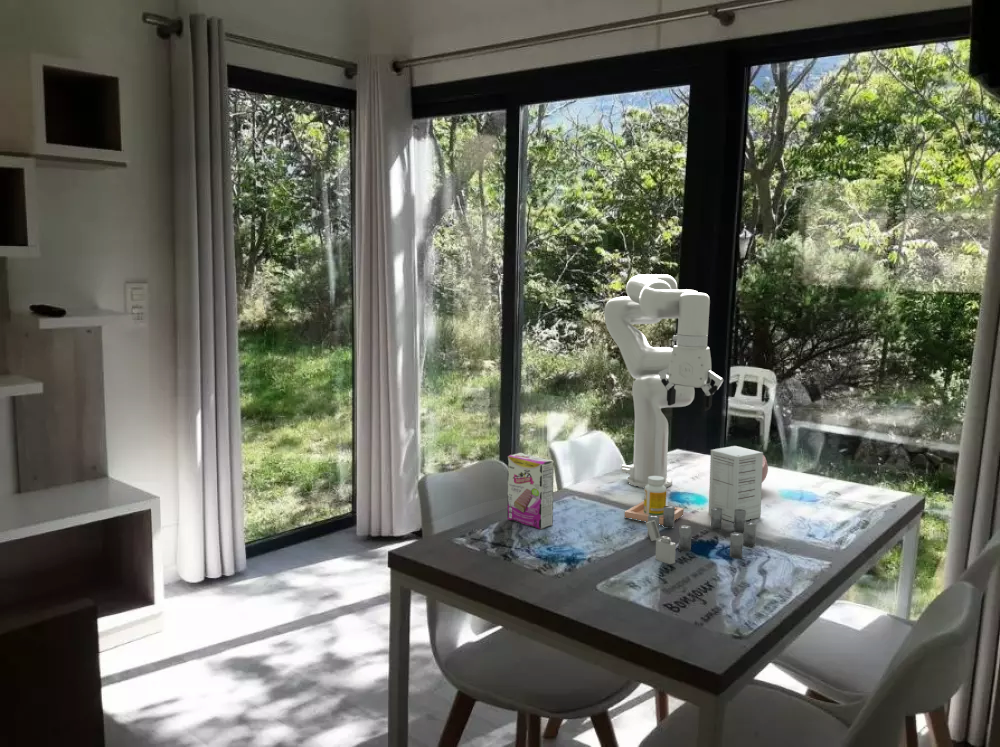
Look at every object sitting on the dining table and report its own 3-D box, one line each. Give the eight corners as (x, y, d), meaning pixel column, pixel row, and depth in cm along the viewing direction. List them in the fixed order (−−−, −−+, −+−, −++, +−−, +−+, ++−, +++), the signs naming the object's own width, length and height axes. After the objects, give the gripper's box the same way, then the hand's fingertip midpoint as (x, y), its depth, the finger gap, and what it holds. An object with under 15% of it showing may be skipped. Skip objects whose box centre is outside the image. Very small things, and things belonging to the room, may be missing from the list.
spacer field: (639, 541, 189) (640, 520, 188) (677, 517, 207) (677, 497, 206) (736, 562, 176) (737, 539, 176) (767, 534, 194) (768, 514, 193)
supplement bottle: (639, 514, 207) (640, 477, 206) (653, 510, 210) (654, 473, 209) (655, 519, 203) (657, 481, 202) (669, 515, 206) (671, 478, 205)
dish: (624, 518, 205) (624, 511, 205) (643, 507, 214) (643, 501, 214) (665, 527, 199) (666, 519, 199) (683, 515, 208) (683, 508, 208)
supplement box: (761, 517, 207) (765, 452, 204) (735, 523, 202) (738, 456, 199) (733, 507, 215) (735, 444, 212) (707, 513, 210) (709, 448, 208)
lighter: (675, 562, 176) (676, 526, 175) (670, 564, 175) (671, 528, 174) (649, 553, 181) (650, 518, 180) (644, 555, 180) (645, 520, 179)
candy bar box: (506, 520, 204) (506, 455, 201) (519, 515, 207) (520, 452, 205) (540, 530, 196) (541, 463, 194) (553, 525, 200) (554, 459, 197)
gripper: (654, 339, 211) (651, 405, 214) (718, 346, 201) (714, 414, 204) (667, 337, 217) (664, 400, 220) (730, 343, 207) (726, 409, 210)
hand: (688, 407), depth 212 cm, fingers open, 9 cm apart
